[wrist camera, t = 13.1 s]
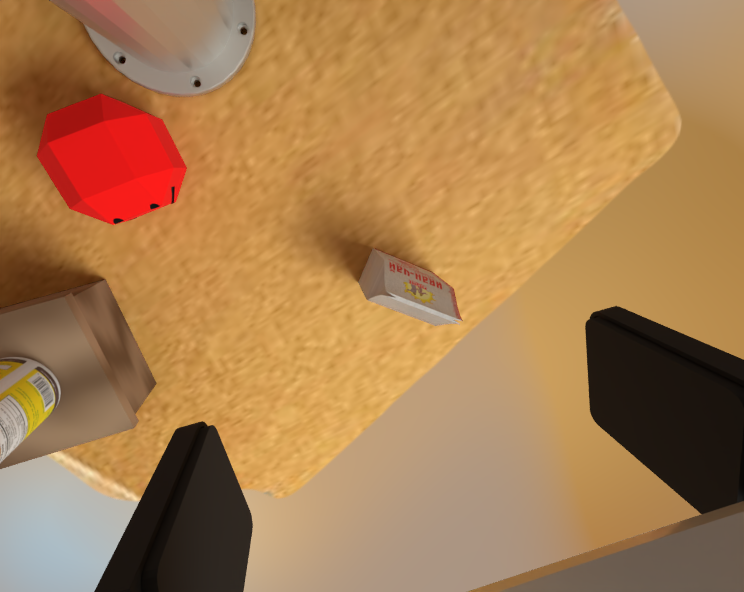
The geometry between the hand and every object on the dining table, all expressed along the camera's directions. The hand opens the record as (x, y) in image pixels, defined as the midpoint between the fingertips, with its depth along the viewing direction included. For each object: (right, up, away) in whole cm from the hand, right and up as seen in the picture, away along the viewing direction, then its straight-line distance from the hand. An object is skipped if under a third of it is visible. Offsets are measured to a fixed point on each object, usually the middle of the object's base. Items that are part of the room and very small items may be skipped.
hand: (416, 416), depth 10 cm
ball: (-21, +14, +24) cm, 35 cm away
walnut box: (-29, -2, +28) cm, 40 cm away
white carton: (+1, +5, +31) cm, 31 cm away
